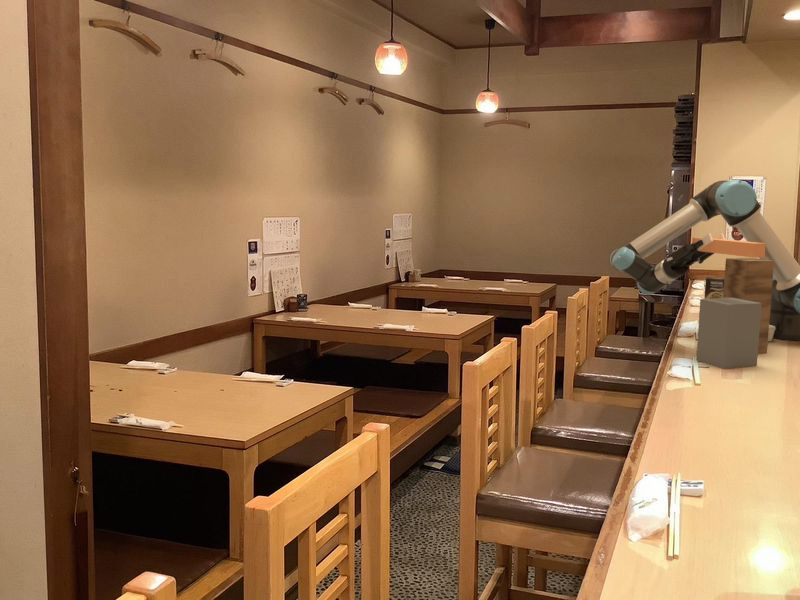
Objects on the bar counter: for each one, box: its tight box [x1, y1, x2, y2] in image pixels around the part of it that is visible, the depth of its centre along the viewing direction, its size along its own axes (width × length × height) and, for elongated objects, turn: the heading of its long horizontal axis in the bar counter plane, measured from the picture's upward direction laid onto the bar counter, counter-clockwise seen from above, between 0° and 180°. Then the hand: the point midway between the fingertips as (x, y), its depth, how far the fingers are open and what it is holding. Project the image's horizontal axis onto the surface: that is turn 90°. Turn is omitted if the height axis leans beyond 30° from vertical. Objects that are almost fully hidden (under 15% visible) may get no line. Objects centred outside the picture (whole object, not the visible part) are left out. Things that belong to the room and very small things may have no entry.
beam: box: [691, 237, 766, 259], centre depth 232 cm, size 26×4×4 cm, turn 19°
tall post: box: [723, 257, 774, 355], centre depth 249 cm, size 10×10×30 cm
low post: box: [695, 298, 762, 370], centre depth 232 cm, size 12×12×19 cm
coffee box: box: [703, 276, 725, 299], centre depth 319 cm, size 9×6×16 cm
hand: (717, 237), depth 235 cm, fingers closed on beam, 4 cm apart
